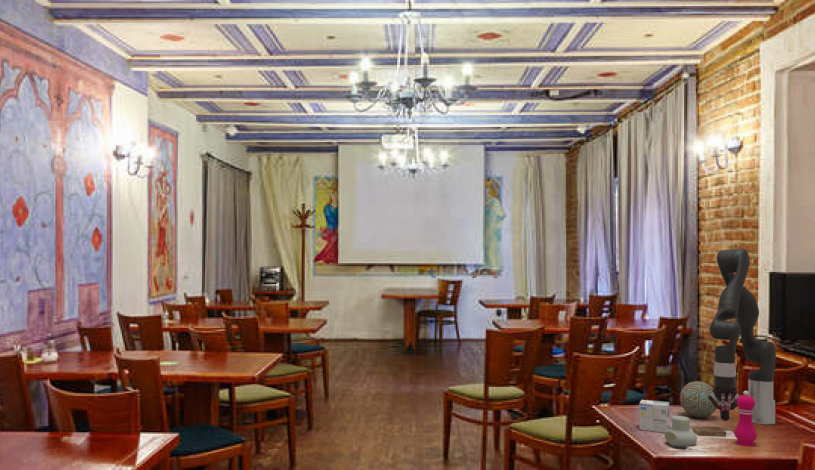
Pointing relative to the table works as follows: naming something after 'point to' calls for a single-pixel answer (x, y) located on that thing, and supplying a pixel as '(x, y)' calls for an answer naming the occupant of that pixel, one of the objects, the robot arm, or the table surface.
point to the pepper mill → (745, 421)
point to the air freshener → (680, 433)
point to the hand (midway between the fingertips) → (724, 420)
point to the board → (728, 436)
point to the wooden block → (709, 431)
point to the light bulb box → (654, 416)
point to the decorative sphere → (697, 399)
